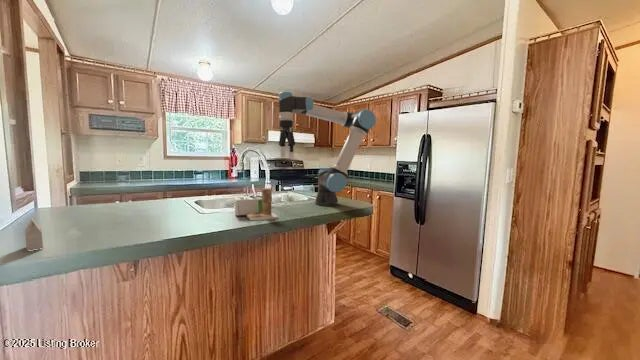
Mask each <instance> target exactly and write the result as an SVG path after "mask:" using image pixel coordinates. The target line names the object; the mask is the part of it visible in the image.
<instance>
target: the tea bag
mask: <svg viewBox="0 0 640 360" xmlns="http://www.w3.org/2000/svg"><path fill="white" fill-rule="evenodd" d="M24 234H25V246H26V251H27V250H33V249H40V248H43V249H44V243H43V242H44V241H43V234H42V229H41V228H40V226H39V225H38V224H37V223H36V222H35V220H34V218H33V217H32V218H30V221H29V223H28V225H27V226H26V227H25V230H24Z"/></svg>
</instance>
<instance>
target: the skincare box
mask: <svg viewBox="0 0 640 360" xmlns="http://www.w3.org/2000/svg"><path fill="white" fill-rule="evenodd" d="M247 213H262V198H251V199H247V198H245V199H235V200H234V214H235V216H246V214H247Z"/></svg>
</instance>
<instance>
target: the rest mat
mask: <svg viewBox="0 0 640 360" xmlns="http://www.w3.org/2000/svg"><path fill="white" fill-rule="evenodd" d="M271 214H272V216H271V217H257V218H248V220H249V221H252V222H253V221H264V220H276V219H278V217H279V216H278V215H277V214H276V213H274V212H271Z"/></svg>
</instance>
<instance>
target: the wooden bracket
mask: <svg viewBox="0 0 640 360" xmlns="http://www.w3.org/2000/svg"><path fill="white" fill-rule="evenodd" d="M261 199H262V213H247V214H246V215H245V216H246V217H247V219H249V218H257V217H271V216H272V214H271V213H272V188H270V187H269V188H268V187H266V188H265V187H263V188H261Z"/></svg>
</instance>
